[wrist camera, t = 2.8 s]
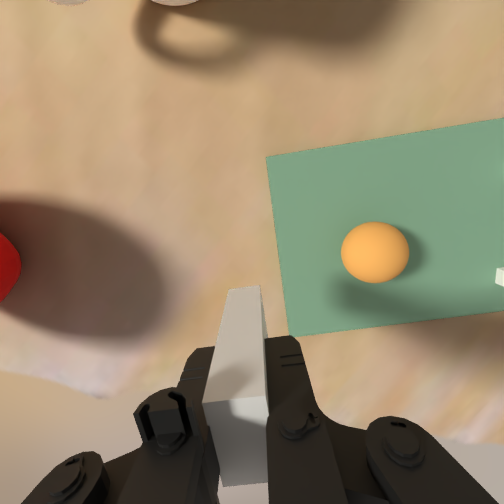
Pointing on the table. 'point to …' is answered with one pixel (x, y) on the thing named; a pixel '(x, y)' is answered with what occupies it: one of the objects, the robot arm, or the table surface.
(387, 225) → the ball
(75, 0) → the cup
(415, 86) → the table surface
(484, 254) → the putting mat
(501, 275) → the white c-shaped bracket
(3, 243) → the tomato
